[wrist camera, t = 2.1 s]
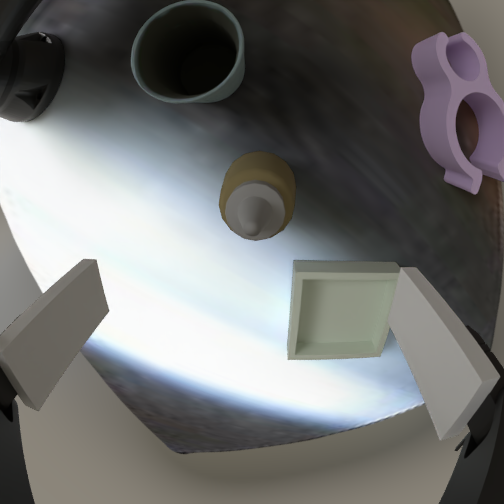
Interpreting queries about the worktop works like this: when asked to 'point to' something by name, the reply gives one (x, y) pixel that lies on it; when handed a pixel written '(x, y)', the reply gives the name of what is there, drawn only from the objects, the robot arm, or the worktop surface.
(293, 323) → the tray
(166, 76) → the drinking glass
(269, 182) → the squeeze bottle
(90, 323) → the robot arm
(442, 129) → the clip
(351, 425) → the worktop surface
